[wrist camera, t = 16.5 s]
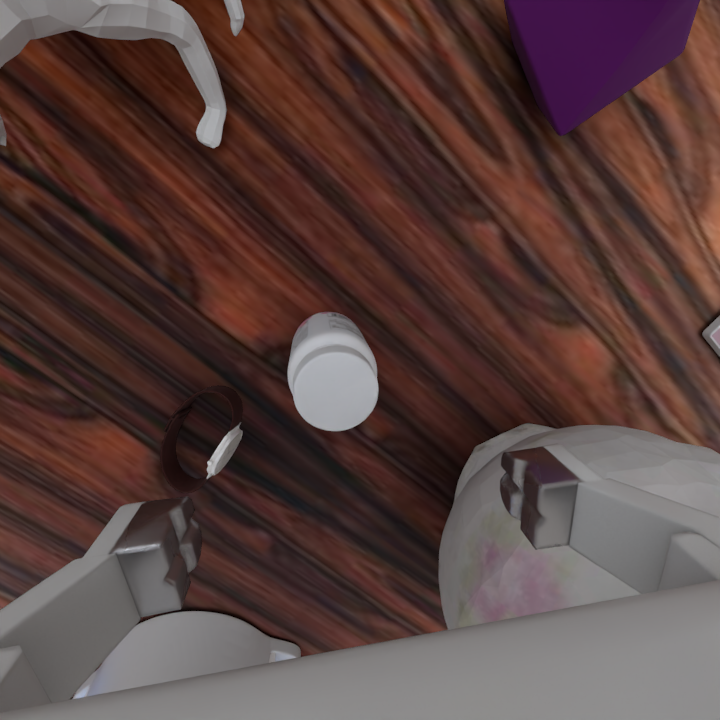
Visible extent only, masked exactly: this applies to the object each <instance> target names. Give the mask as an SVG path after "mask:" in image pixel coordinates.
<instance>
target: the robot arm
mask: <svg viewBox="0 0 720 720" xmlns="http://www.w3.org/2000/svg"><path fill="white" fill-rule="evenodd" d="M501 467H502V468H503V469H504V470H505V471H506V472H505V474H504V475H503V476H502V478H501V479H500V493H501V498H502V501H503V504H504V506H505V508H506V510H507V511H508V513H509V514H510V515H511V516H512V517H514V518H516V519H518V520H519V521H521V525H520V529H521V531H522V532H523V534H524V535H525V536H526V538H527V539H528V540H529V542H530V543H531V545H532V546H533V547H534V549H535V550H538V549H546V548H553V547H560V546H568V545H569V547H570V548H571V549H573V550H574V551H576V552H577V553H579V554H580V555H582V556H584V557H585V558H587V559H588V560H590V561H591V562H593V563H594V564H596V565H598V566H599V567H601V568H602V569H604V570H605V571H607V572H608V573H610V574H611V575H613V576H615V577H616V578H618V579H619V580H621V581H622V582H624V583H625V584H627V585H629V586H630V587H632V588H633V589H635V590H636V591H638V592H639V593H641V594H639V595H634V596H629V597H623V598H618V599H612V600H607V601H601V602H596V603H591V604H585V605H580V606H574V607H569V608H563V609H558V610H553V611H547V612H542V613H536V614H531V615H526V616H520V617H515V618H509V619H504V620H498V621H493V622H488V623H482V624H477V625H471V626H466V627H461V628H455V629H450V630H444V631H439V632H433V633H428V634H423V635H417V636H412V637H406V638H401V639H395V640H390V641H385V642H379V643H374V644H368V645H363V646H357V647H352V648H347V649H341V650H336V651H330V652H325V653H320V654H314V655H309V656H303V657H301V650H300V648H299V647H298V646H297V645H295V644H293V643H290V642H287V641H283V640H279V639H275V638H271V637H269V636H267V635H265V634H263V633H262V632H260V631H259V630H258V629H256V628H255V627H253V626H252V625H250V624H248V623H246V622H244V621H242V620H240V619H237V618H235V617H232V616H228V615H225V614H220V613H214V612H206V611H184V612H176V613H170V614H165V615H161V616H157V617H154V618H151V619H149V620H146V621H144V622H142V623H140V624H138V625H136V624H137V623H138V622H139V621H140V620H141V618H140V617H145V616H150V615H155V614H160V613H165V612H170V611H175V610H180V609H181V608H182V605H183V602H184V600H185V597H186V594H187V591H188V589H189V586H190V583H191V581H190V578H189V573H190V572H191V571H192V570H193V569H194V568H195V567H196V566H197V564H198V561H199V558H200V555H201V547H202V536H201V530H200V526H199V524H198V523H197V522H195V521H194V520H193V519H191V518H192V516H193V514H194V511H195V508H194V505H193V502H192V499H191V498H189V497H179V498H171V499H162V500H154V501H147V502H139V503H131V504H125V505H123V506H121V507H120V508H119V509H118V510H117V512H116V513H115V514H114V516H113V517H112V519H111V520H110V521H109V523H108V524H107V525H106V527H105V528H104V529H103V531H102V532H101V533H100V535H99V536H98V538H97V539H96V540H95V542H94V543H93V544H92V546H91V547H90V548H89V550H88V551H87V552H86V554H85V555H84V557H83V558H80V559H75V560H73V561H72V562H70V563H69V564H67V565H66V566H64V567H63V568H61V569H60V570H58V571H57V572H55V573H54V574H53V575H51V576H50V577H48V578H47V579H45V580H44V581H42V582H41V583H39V584H38V585H36V586H35V587H33V588H32V589H30V590H29V591H27V592H26V593H25V594H23V595H22V596H20V597H19V598H17V599H16V600H14V601H13V602H11V603H10V604H8V605H7V606H5V607H4V608H2V609H1V610H0V720H720V517H718V516H715V515H712V514H710V513H707V512H704V511H701V510H698V509H695V508H693V507H690V506H687V505H684V504H681V503H679V502H676V501H673V500H670V499H667V498H664V497H662V496H659V495H656V494H653V493H650V492H647V491H645V490H642V489H639V488H636V487H633V486H631V485H628V484H625V483H622V482H619V481H616V480H614V479H611V478H607V479H603V478H602V477H601V476H600V475H598V474H597V473H596V472H595V471H594V470H592V469H591V468H590V467H589V466H587V465H586V464H585V463H584V462H583V461H581V460H580V459H579V458H578V457H576V456H575V455H574V454H573V453H571V452H570V451H569V450H568V449H567V448H565V447H564V446H563V445H560V444H557V443H556V444H551V445H545V446H539V447H536V448H530V449H523V450H516V451H509V452H504V453H503V455H502V457H501ZM135 625H136V626H135ZM101 663H102V664H101ZM100 664H101V666H100V667H99V665H100ZM98 667H99V669H98V670H96V669H97V668H98ZM95 670H96V671H95ZM94 671H95V672H94ZM75 692H76V693H75ZM74 693H75V695H74V697H73V699H71V700H69V699H70V698H71V697H72V695H73V694H74Z"/></svg>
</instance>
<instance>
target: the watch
mask: <svg viewBox="0 0 720 720" xmlns="http://www.w3.org/2000/svg"><path fill="white" fill-rule="evenodd" d="M207 392H211V393H217V394H220V395H222V396H223V397H224V398H225V399H226V400H227V401H228V402H229V404H230V406H231V409H232V424H231V426H230V429H229V432H228V434H227V435H226V436H225V437H224V438H223V440H222V441H221V443H220V444H219V446H218V447H217V449H216V450H215V452H214V453H213V455H212V457H211V459H210V460H209V461H208V462H207V464H208V467H207V472H208V476H207V477H205V478H201V479H195V478H192V477H190V476H189V475H187V474H186V473H185V472H184V471H183V470H182V468H181V467H180V465H179V462H178V460H177V456H176V440H177V435H178V432H179V430H180V427H181V425H182V423H183V421H184V419H185V417H186V415H187V414H188V413H189V411H190V409H191V408H192V407H191V406H190V405H191V404H192V403H193V402H194V400H195V399H196V398H197V397H199V396H200V395H201V394H202V393H207ZM189 406H190V407H189ZM242 412H243V407H242V401H241V399H240V397H239V395H238V394H237V393H236V392H235V391H234V390H233V389H231V388H229V387H226V386H219V385H217V386H211V387H208V388H206V389H204V390H202V391H200V392H198V393H195V394H193V395H192V396H191V397H189V398H188V399H187V400H185V401H184V403H183V404H182V405H181V406H180V407H179V408H178V409H177V410H176V411H175V412H174V414H173V415H172V416H171V417H170V420H169V422H168V424H167V425H166V427H165V429H164V432H166V435H165V437H164V439H163V442H162V446H161V454H160V461H161V468H162V471H163V474H164V476H165V478H166V480H167V482H168V483H169V484H170V485H171V486H172V487H173V488H174V489H175V490H176V491H179V492H181V493H192V492H194V491H196V490H198V489H199V488H201V487H202V486H203V485H204V484H205V483H206V482H207V480H208V479H209V478H210V477H211V476H212V475H216V474H217V473H218V472H220V471H221V469H222V468H223V467H224V466H225V465H226V464H227V462H228V461H229V459H230V458H231V456H232V455H233V453H234V451H235V450H236V448H237V446H238V444H239V442H240V440H241V438H242V430H240V428H239V426H240V424H241V419H242Z"/></svg>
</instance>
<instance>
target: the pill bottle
mask: <svg viewBox="0 0 720 720" xmlns="http://www.w3.org/2000/svg"><path fill="white" fill-rule="evenodd" d="M288 383H289V387H290V390H291V392H292V394H293V398H294V403H295V406H296V408H297V410H298V412H299V413H300V415H301V416H302V417H303V418H304V420H306V421H307V422H308V423H309V424H311V425H313V426H315V427H317V428H319V429H322V430H327V431H342V430H347V429H350V428H353V427H355V426H357V425H358V424H360V423H361V422H363V421H364V420H365V419H366V418H367V417H368V416H369V415H370V413H371V412H372V411H373V409H374V407H375V405H376V402H377V399H378V390H379V388H378V381H377V365H376V361H375V358H374V355H373V353H372V351H371V349H370V347H369V346H368V344H367V342H366V340H365V339H364V337H363V335H362V333H361V332H360V330H359V328H358V327H357V326H356V324H355V323H354V322H353V321H352V320H350V319H349V318H347V317H346V316H344V315H342V314H339V313H335V312H322V313H317V314H315V315H312V316H310V317H309V318H307V319H306V320H305V321H304V322H303V323H302V324H301V325H300V326H299V327H298V329H297V331H296V333H295V335H294V337H293V341H292V347H291V353H290V359H289V364H288Z"/></svg>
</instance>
